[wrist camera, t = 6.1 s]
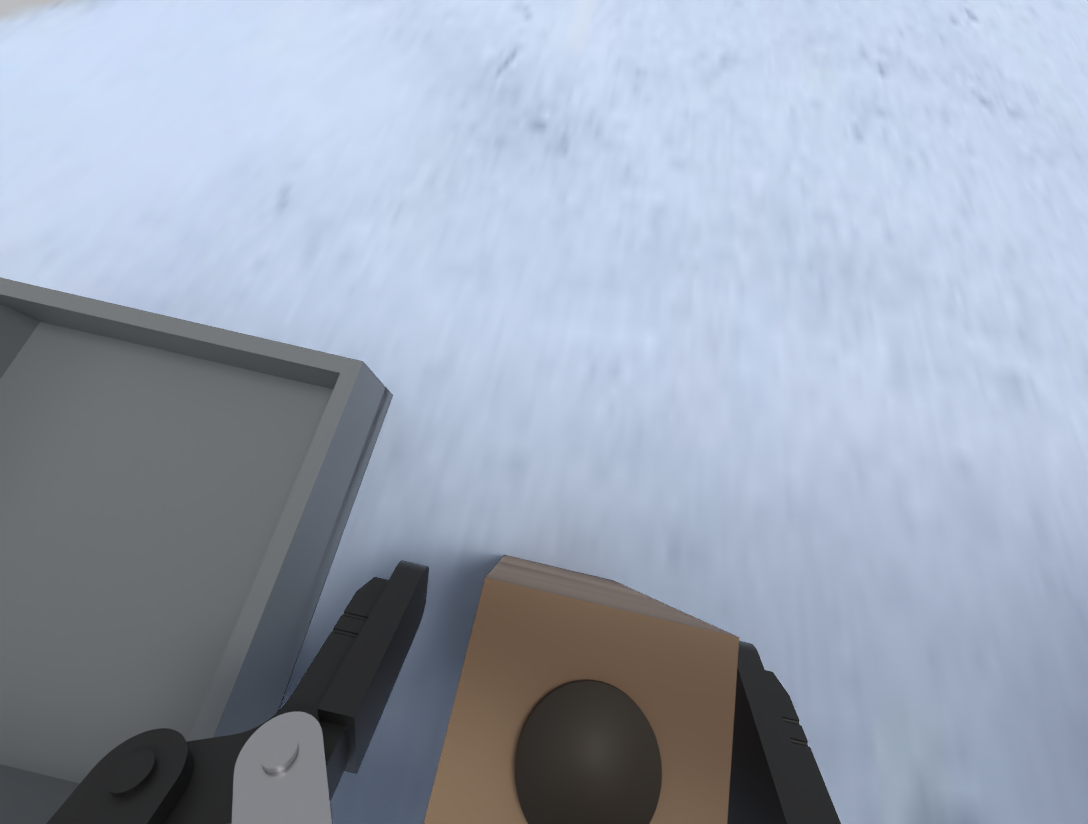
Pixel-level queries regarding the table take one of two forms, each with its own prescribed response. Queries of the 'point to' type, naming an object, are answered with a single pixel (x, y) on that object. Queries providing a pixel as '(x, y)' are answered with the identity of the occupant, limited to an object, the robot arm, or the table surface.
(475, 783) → the walnut block
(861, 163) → the table surface
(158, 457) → the grey tray
